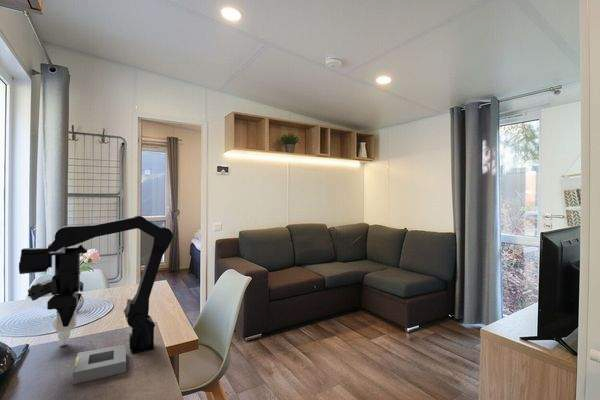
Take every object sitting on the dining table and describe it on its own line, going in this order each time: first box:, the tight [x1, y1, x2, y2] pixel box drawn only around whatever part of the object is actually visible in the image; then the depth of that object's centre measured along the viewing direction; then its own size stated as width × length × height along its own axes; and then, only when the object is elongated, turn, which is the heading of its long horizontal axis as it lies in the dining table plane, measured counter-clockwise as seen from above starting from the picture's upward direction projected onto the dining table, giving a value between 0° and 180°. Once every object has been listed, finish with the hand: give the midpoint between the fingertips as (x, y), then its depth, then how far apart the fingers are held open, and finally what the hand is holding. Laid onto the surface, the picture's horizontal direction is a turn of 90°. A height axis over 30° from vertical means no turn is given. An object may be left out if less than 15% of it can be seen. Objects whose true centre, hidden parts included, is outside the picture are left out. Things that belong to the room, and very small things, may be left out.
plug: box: [56, 308, 77, 333], centre depth 89 cm, size 4×4×7 cm
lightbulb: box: [52, 314, 72, 346], centre depth 101 cm, size 6×6×11 cm
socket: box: [71, 343, 127, 385], centre depth 88 cm, size 12×12×3 cm
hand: (66, 323), depth 89 cm, fingers closed on plug, 4 cm apart
